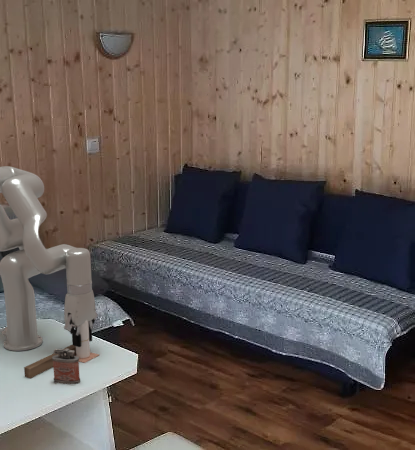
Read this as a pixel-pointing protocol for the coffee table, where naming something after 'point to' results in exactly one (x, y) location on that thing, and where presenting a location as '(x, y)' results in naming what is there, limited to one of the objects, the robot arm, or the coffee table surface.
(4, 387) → the coffee table surface
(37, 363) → the walnut straightedge
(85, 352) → the tube
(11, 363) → the coffee table surface
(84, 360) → the end pad
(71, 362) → the lighter
